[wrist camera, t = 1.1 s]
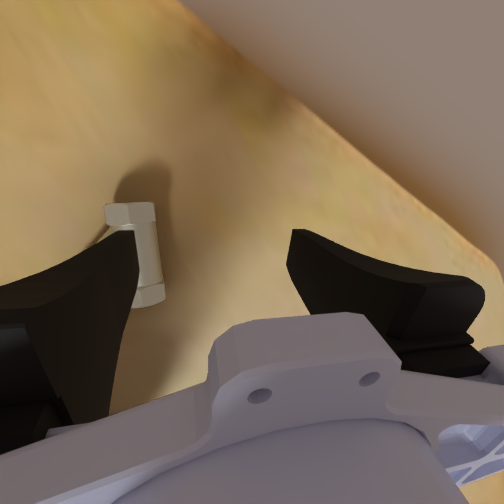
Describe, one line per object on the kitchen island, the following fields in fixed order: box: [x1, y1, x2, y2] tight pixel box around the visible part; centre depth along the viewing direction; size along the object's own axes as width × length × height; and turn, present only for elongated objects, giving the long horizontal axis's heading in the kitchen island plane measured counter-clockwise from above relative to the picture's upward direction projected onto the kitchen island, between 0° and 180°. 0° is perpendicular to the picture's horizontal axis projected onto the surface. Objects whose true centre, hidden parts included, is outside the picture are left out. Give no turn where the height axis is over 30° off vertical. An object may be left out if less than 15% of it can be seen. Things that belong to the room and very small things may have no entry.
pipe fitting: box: [97, 201, 166, 308], centre depth 21 cm, size 8×4×7 cm
